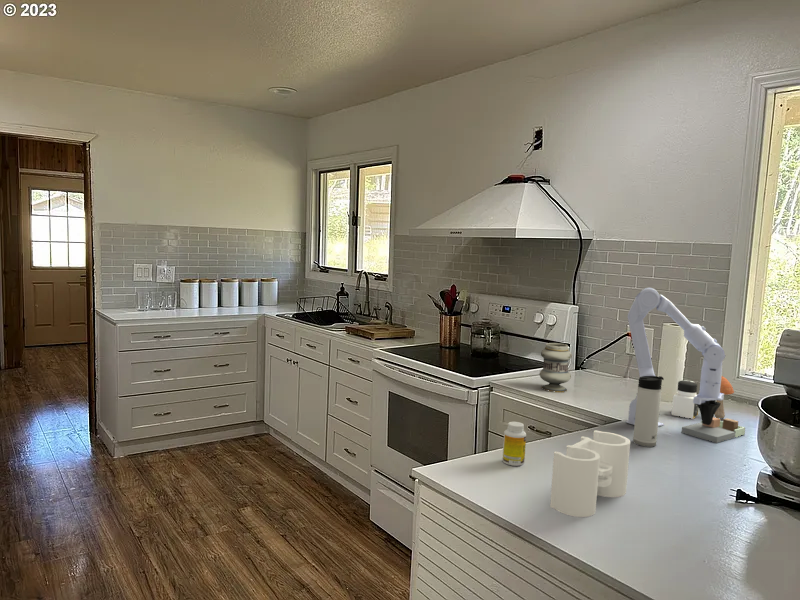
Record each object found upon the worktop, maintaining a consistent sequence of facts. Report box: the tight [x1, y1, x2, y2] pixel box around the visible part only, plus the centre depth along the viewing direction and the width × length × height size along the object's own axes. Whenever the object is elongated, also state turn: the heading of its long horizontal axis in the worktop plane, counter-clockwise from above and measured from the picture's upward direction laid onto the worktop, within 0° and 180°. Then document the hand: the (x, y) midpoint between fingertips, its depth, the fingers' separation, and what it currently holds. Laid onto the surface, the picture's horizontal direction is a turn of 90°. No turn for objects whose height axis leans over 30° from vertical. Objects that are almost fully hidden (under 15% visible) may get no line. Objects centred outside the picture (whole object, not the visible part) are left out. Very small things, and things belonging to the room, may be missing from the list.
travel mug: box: [632, 375, 664, 448], centre depth 176 cm, size 6×7×20 cm
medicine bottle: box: [671, 379, 699, 420], centre depth 210 cm, size 7×7×12 cm
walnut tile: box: [722, 417, 739, 431], centre depth 190 cm, size 4×4×2 cm
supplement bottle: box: [501, 421, 527, 467], centre depth 155 cm, size 6×6×10 cm
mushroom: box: [714, 375, 735, 419], centre depth 207 cm, size 8×8×15 cm
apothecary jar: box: [539, 342, 573, 393], centre depth 239 cm, size 12×12×18 cm
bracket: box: [549, 429, 631, 518], centre depth 135 cm, size 25×10×12 cm, turn 139°
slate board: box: [681, 422, 736, 444], centre depth 188 cm, size 11×11×2 cm
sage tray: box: [700, 420, 746, 438], centre depth 193 cm, size 6×11×2 cm, turn 35°
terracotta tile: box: [702, 416, 721, 428], centre depth 192 cm, size 4×4×2 cm
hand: (706, 423), depth 191 cm, fingers closed
